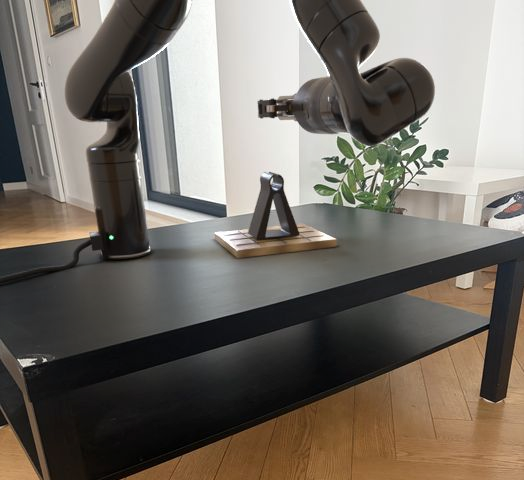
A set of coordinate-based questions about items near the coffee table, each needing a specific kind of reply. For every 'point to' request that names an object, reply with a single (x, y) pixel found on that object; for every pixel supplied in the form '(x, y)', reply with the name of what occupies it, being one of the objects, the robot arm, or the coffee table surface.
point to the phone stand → (264, 208)
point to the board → (273, 242)
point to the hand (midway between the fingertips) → (289, 108)
